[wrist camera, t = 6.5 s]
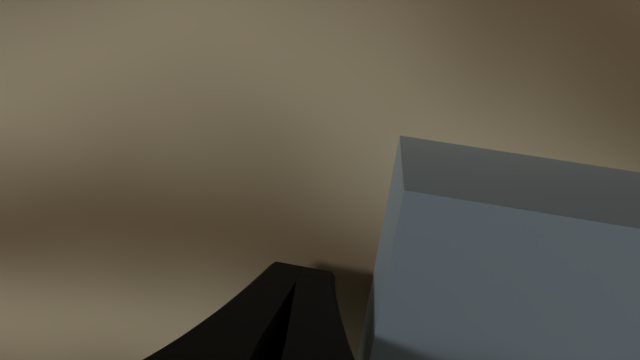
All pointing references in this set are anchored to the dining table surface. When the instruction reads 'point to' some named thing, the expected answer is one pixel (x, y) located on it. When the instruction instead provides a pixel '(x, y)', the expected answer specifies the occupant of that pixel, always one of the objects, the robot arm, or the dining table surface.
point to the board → (262, 143)
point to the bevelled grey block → (504, 259)
